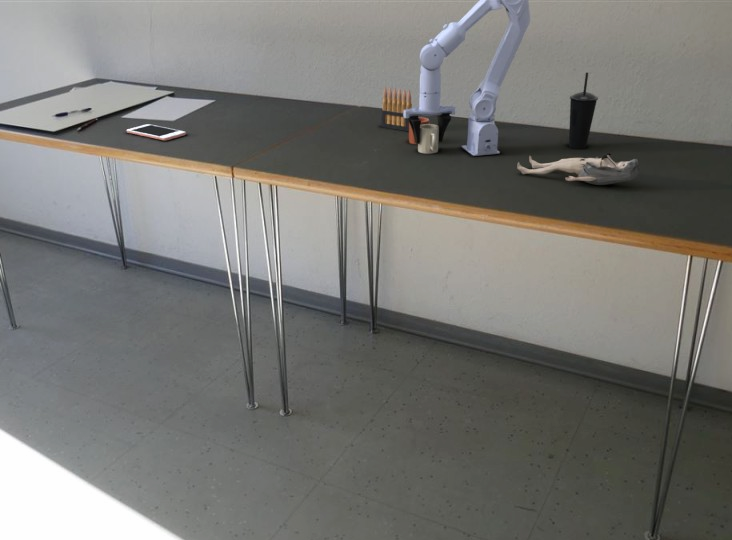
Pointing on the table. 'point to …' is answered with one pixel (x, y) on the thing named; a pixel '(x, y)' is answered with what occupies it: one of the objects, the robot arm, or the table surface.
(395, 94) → the ammunition clip
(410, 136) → the terracotta cup
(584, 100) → the drinking cup
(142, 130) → the cell phone
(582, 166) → the anime figure
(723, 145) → the table surface
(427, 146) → the cream cup
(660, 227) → the table surface
